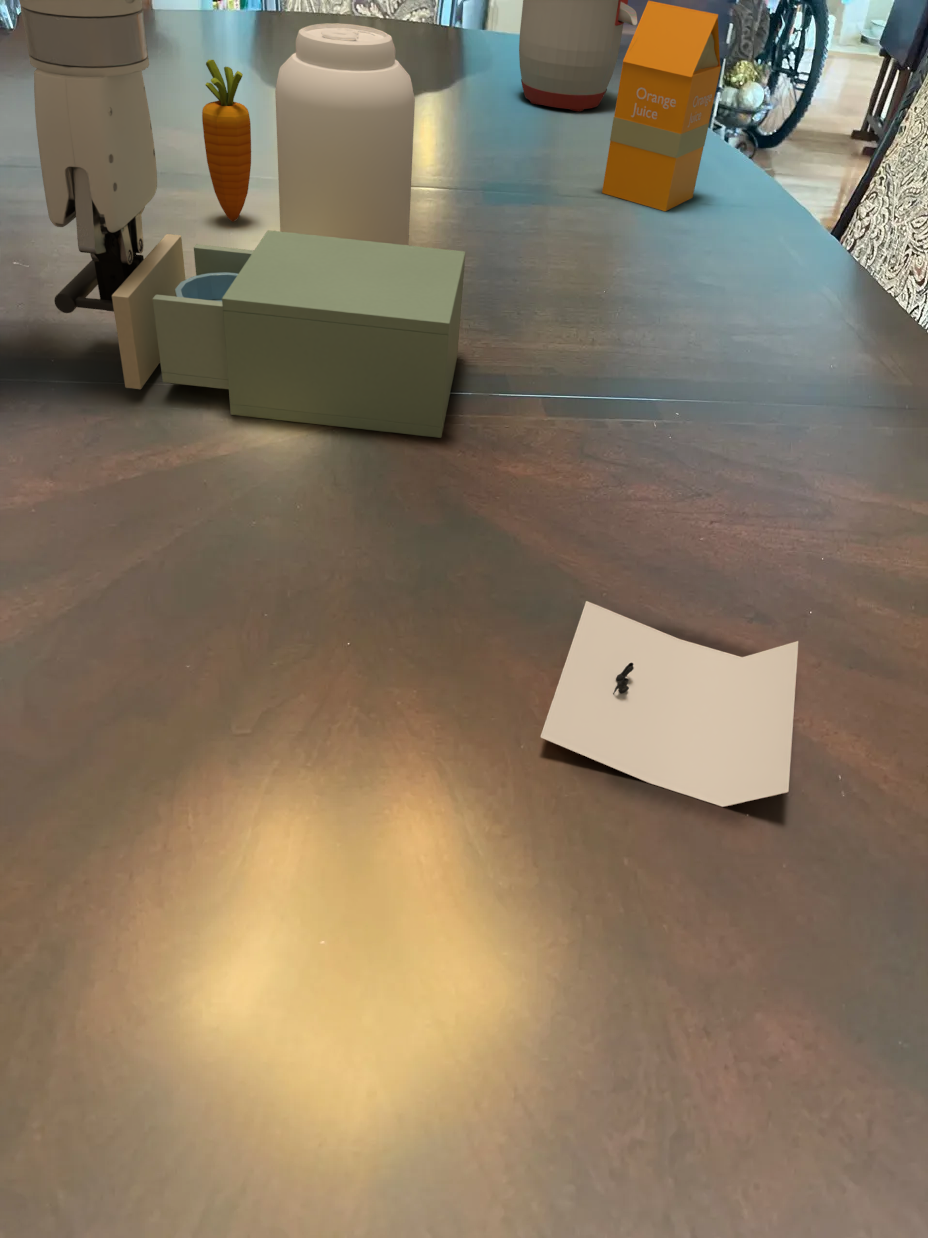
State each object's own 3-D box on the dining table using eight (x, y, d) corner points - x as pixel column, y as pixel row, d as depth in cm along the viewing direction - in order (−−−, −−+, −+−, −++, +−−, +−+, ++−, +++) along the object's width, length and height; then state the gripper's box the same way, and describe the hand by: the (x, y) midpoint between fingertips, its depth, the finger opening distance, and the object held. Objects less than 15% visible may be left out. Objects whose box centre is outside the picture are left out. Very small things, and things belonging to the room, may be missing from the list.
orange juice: (630, 179, 129) (663, -3, 116) (693, 197, 125) (734, 11, 112) (600, 192, 123) (630, 3, 111) (665, 211, 120) (704, 18, 107)
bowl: (169, 361, 77) (163, 303, 74) (196, 322, 82) (191, 267, 79) (262, 371, 77) (259, 314, 74) (283, 332, 82) (281, 277, 79)
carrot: (265, 225, 106) (257, 66, 96) (220, 232, 104) (208, 69, 94) (244, 210, 109) (235, 54, 99) (201, 216, 107) (187, 56, 97)
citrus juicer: (611, 123, 149) (636, -37, 136) (498, 104, 153) (513, -55, 140) (632, 101, 161) (657, -49, 148) (527, 83, 164) (543, -65, 151)
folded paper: (583, 615, 61) (588, 589, 59) (788, 666, 59) (798, 640, 57) (536, 755, 52) (541, 728, 50) (776, 821, 50) (788, 795, 48)
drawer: (51, 379, 76) (32, 286, 71) (110, 311, 85) (97, 225, 81) (319, 409, 75) (318, 317, 71) (348, 337, 85) (348, 253, 80)
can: (376, 293, 95) (382, 53, 82) (257, 266, 98) (245, 29, 85) (426, 251, 104) (439, 29, 91) (316, 227, 107) (313, 9, 94)
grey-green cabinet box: (230, 414, 76) (221, 297, 70) (272, 336, 86) (267, 229, 80) (441, 438, 75) (449, 322, 70) (457, 356, 86) (465, 251, 80)
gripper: (73, 13, 72) (111, 267, 84) (-21, 56, 61) (38, 344, 72) (177, 23, 72) (201, 276, 84) (103, 69, 61) (142, 355, 72)
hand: (126, 307), depth 78 cm, fingers closed
